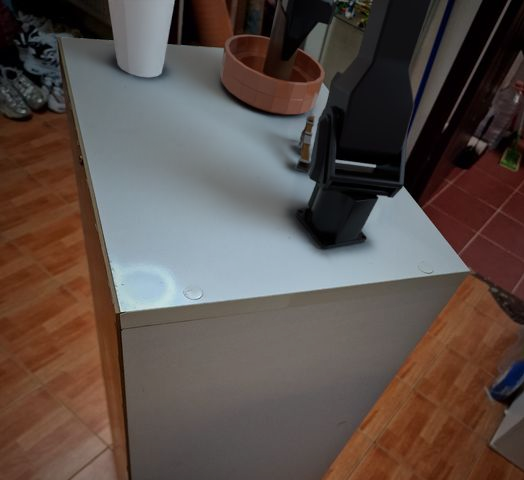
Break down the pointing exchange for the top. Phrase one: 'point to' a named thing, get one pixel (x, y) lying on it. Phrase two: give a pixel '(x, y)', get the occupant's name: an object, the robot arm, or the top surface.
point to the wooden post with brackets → (305, 145)
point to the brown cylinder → (278, 51)
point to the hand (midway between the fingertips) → (281, 53)
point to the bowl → (264, 87)
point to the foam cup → (141, 34)
